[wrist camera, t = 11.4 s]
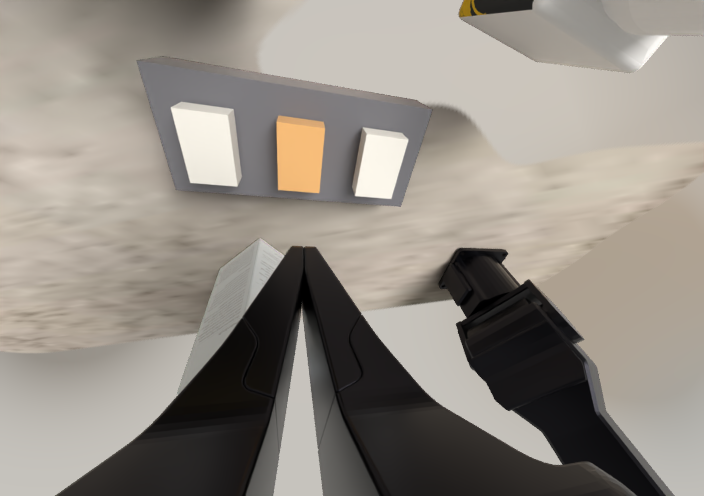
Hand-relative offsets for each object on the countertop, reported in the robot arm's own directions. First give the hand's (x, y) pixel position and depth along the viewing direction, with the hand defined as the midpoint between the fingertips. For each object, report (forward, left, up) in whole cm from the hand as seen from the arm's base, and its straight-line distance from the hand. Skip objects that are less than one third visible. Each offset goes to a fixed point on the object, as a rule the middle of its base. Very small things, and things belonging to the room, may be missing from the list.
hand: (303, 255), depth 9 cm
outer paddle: (+5, 0, -10) cm, 11 cm away
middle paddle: (0, 0, -10) cm, 10 cm away
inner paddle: (-5, 0, -10) cm, 11 cm away
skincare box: (+4, +13, -13) cm, 19 cm away
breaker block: (0, 0, -13) cm, 13 cm away
